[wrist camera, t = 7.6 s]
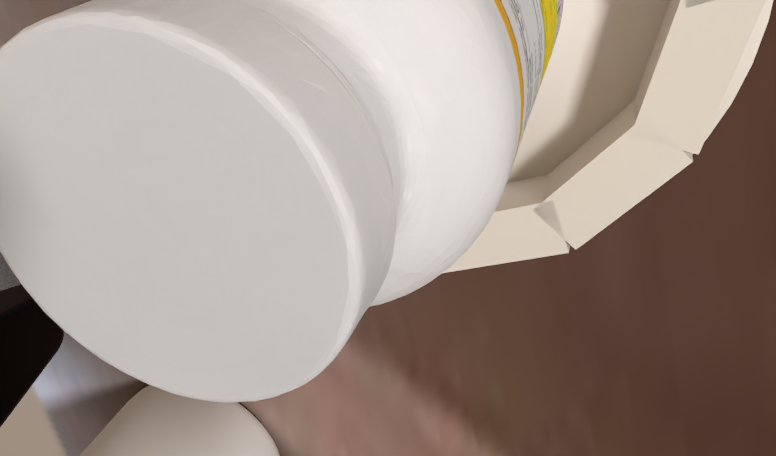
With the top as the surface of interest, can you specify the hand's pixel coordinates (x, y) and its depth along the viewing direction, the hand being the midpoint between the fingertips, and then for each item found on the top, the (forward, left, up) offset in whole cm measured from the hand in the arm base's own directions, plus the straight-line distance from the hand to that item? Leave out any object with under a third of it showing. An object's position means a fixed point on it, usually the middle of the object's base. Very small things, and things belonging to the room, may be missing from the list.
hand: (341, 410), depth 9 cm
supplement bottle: (+3, +2, -12) cm, 12 cm away
